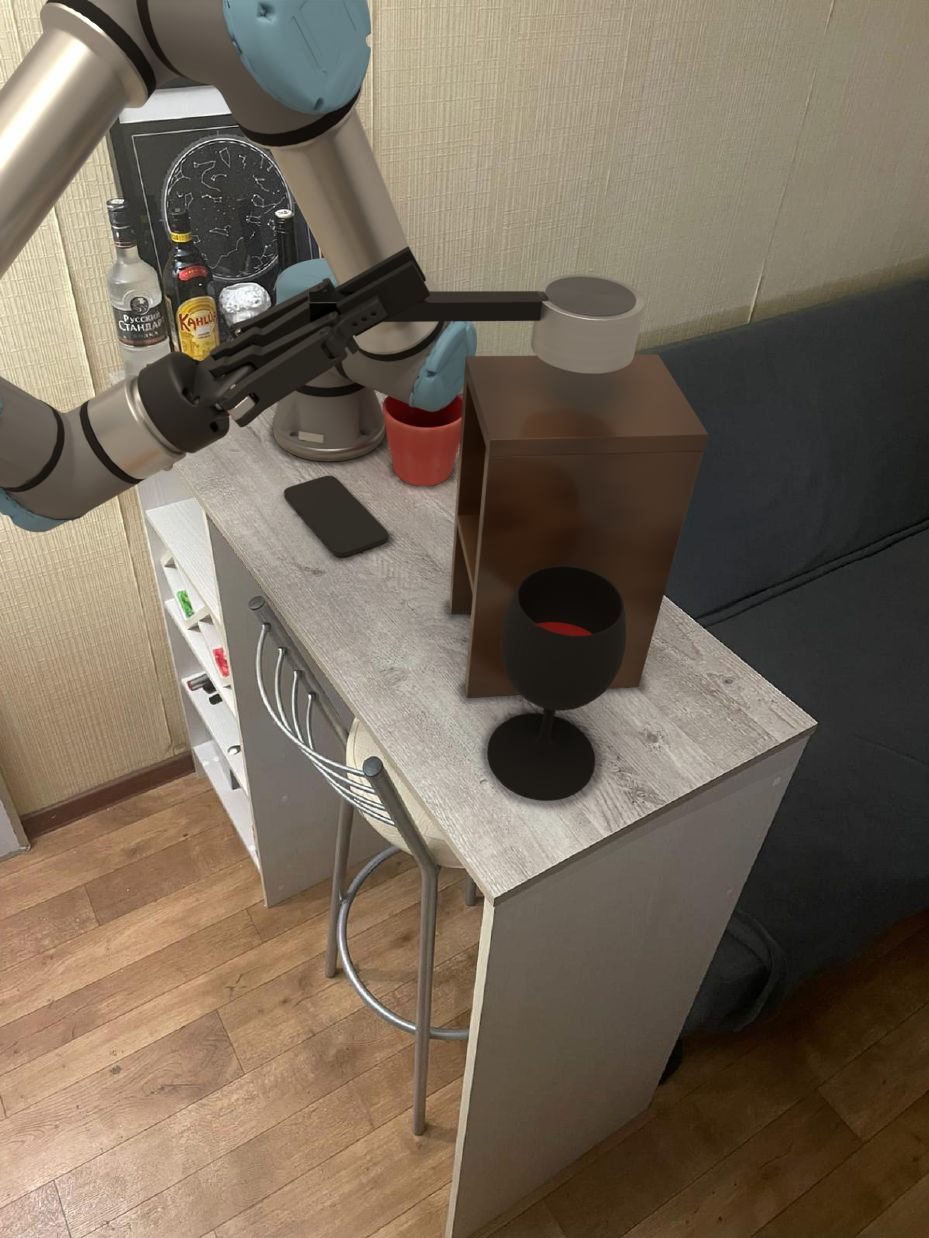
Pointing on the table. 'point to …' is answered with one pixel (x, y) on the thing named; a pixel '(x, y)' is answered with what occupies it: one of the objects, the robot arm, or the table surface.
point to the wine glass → (556, 677)
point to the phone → (336, 516)
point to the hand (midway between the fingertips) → (418, 271)
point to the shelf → (568, 493)
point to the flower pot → (422, 440)
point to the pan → (540, 318)
